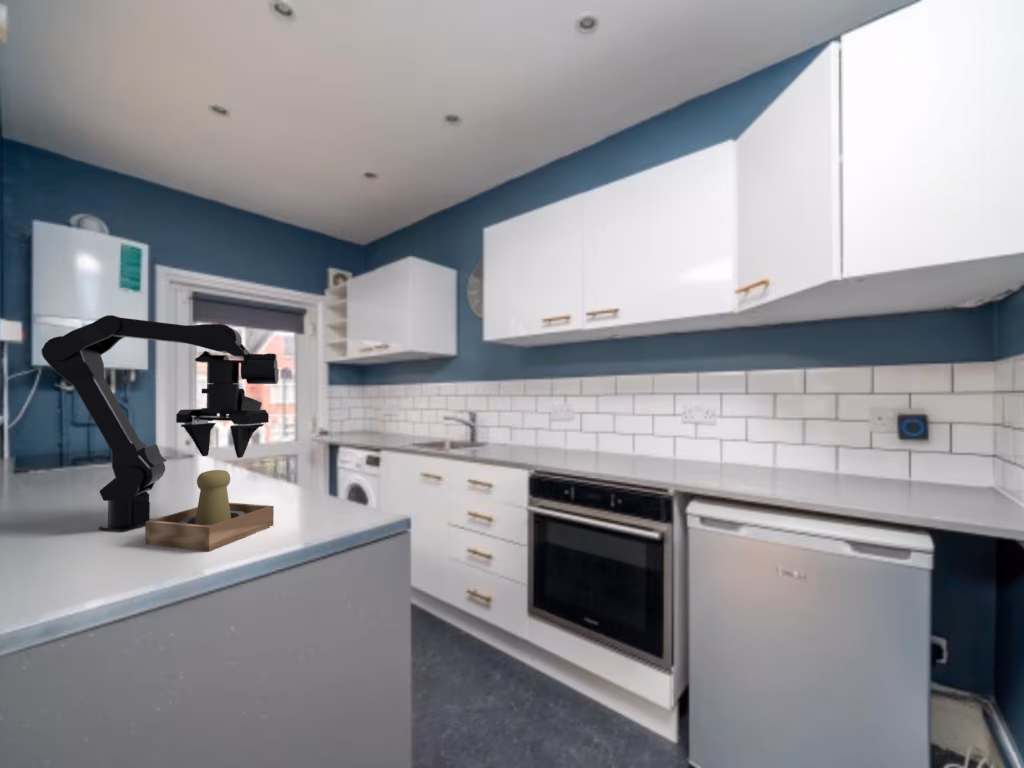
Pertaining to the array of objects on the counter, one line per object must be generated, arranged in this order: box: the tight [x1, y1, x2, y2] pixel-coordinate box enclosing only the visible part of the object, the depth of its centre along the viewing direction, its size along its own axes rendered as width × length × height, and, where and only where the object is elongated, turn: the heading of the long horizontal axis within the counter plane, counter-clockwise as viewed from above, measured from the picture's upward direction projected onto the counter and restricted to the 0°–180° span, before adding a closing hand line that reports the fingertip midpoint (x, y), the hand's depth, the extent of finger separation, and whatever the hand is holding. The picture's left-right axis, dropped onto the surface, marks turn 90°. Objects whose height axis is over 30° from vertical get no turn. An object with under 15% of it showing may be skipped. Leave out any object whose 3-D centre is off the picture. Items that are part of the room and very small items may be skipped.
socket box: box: [144, 502, 275, 552], centre depth 81 cm, size 14×14×4 cm
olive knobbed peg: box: [195, 469, 231, 525], centre depth 81 cm, size 6×6×11 cm
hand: (222, 456), depth 91 cm, fingers open, 9 cm apart
